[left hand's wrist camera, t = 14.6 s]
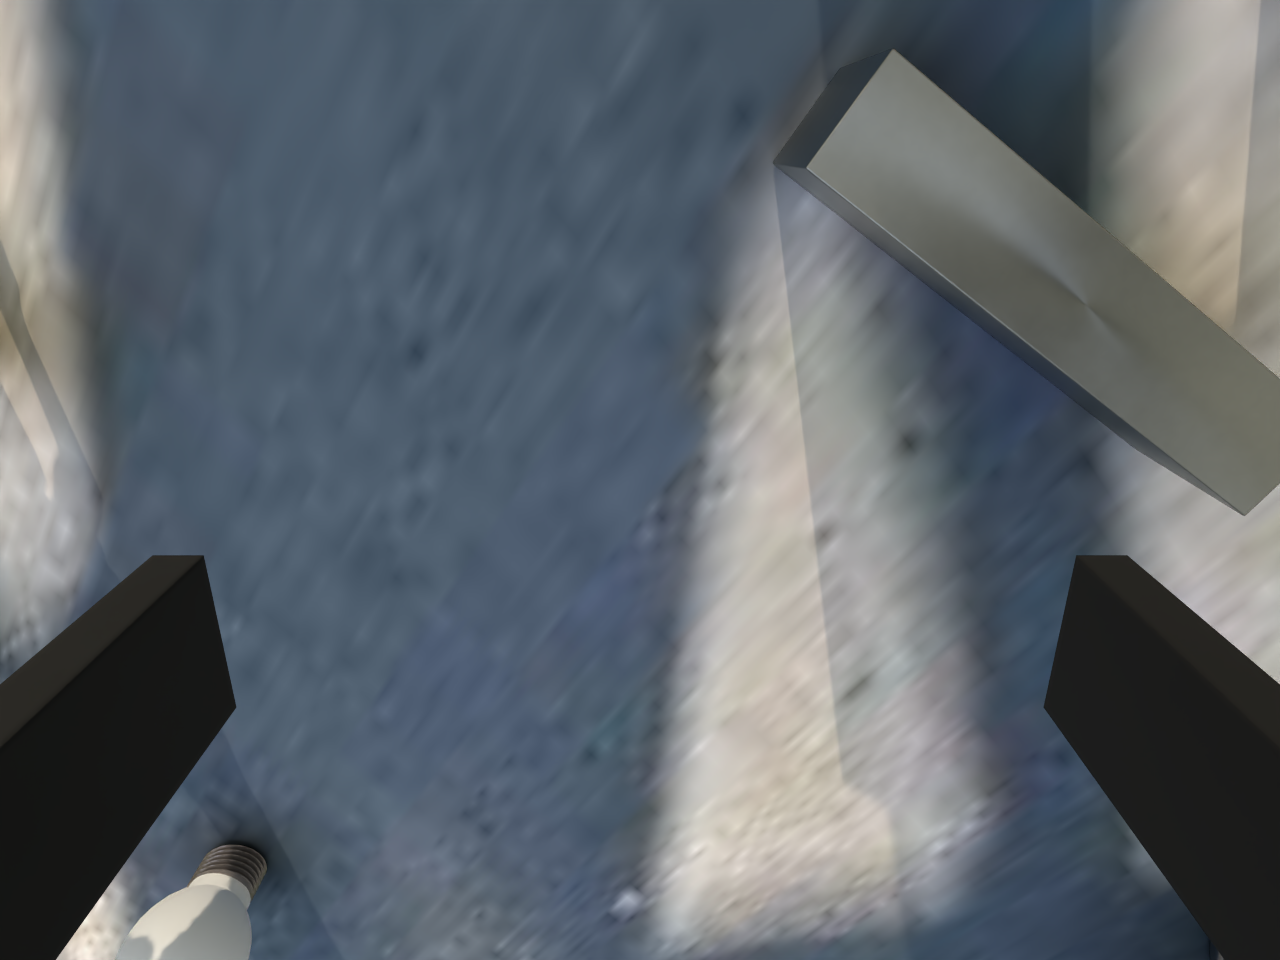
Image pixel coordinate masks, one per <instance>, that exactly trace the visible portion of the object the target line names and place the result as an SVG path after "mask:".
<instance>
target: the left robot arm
mask: <svg viewBox="0 0 1280 960" xmlns="http://www.w3.org/2000/svg"><path fill="white" fill-rule="evenodd" d="M235 708H236V704H235V699H234V694H233V690H232V685H231V680H230V676H229V671H228V666H227V662H226V657H225V652H224V648H223V643H222V639H221V634H220V629H219V625H218V620H217V615H216V611H215V606H214V601H213V597H212V592H211V587H210V583H209V578H208V573H207V569H206V564H205V560H204V555H153V556H152V557H150V558H149V559H148V560H147V561H146V562H144V563H143V564H142V565H141V566H140V567H139V568H137V569H136V570H135V571H134V572H133V573H131V574H130V575H129V576H128V577H127V578H126V579H124V580H123V581H122V582H121V583H120V584H118V585H117V586H116V587H115V588H114V589H113V590H111V591H110V592H109V593H108V594H107V595H105V596H104V597H103V598H102V599H101V600H100V601H98V602H97V603H96V604H95V605H94V606H92V607H91V608H90V609H89V610H88V611H87V612H85V613H84V614H83V615H82V616H81V617H79V618H78V619H77V620H76V621H75V622H74V623H72V624H71V625H70V626H69V627H68V628H66V629H65V630H64V631H63V632H62V633H61V634H59V635H58V636H57V637H56V638H55V639H53V640H52V641H51V642H50V643H49V644H48V645H46V646H45V647H44V648H43V649H42V650H40V651H39V652H38V653H37V654H36V655H35V656H33V657H32V658H31V659H30V660H29V661H27V662H26V663H25V664H24V665H23V666H22V667H20V668H19V669H18V670H17V671H16V672H14V673H13V674H12V675H11V676H10V677H9V678H7V679H6V680H5V681H4V682H3V683H1V684H0V960H56V959H57V957H58V956H59V954H60V953H61V952H62V950H63V949H64V947H65V946H66V945H67V943H68V942H69V940H70V939H71V938H72V936H73V935H74V933H75V932H76V931H77V929H78V928H79V926H80V925H81V924H82V922H83V921H84V919H85V918H86V917H87V915H88V914H89V913H90V911H91V910H92V908H93V907H94V906H95V904H96V903H97V901H98V900H99V899H100V897H101V896H102V894H103V893H104V892H105V890H106V889H107V887H108V886H109V885H110V883H111V882H112V880H113V879H114V878H115V876H116V875H117V873H118V872H119V871H120V869H121V868H122V866H123V865H124V864H125V862H126V861H127V859H128V858H129V857H130V855H131V854H132V852H133V851H134V850H135V848H136V847H137V845H138V844H139V843H140V841H141V840H142V838H143V837H144V836H145V834H146V833H147V831H148V830H149V829H150V827H151V826H152V824H153V823H154V822H155V820H156V819H157V817H158V816H159V815H160V813H161V812H162V810H163V809H164V808H165V806H166V805H167V803H168V802H169V801H170V799H171V798H172V796H173V795H174V794H175V792H176V791H177V789H178V788H179V787H180V785H181V784H182V783H183V781H184V780H185V778H186V777H187V776H188V774H189V773H190V771H191V770H192V769H193V767H194V766H195V764H196V763H197V762H198V760H199V759H200V757H201V756H202V755H203V753H204V752H205V750H206V749H207V748H208V746H209V745H210V743H211V742H212V741H213V739H214V738H215V736H216V735H217V734H218V732H219V731H220V729H221V728H222V727H223V725H224V724H225V722H226V721H227V720H228V718H229V717H230V715H231V714H232V713H233V711H234V710H235ZM1044 708H1045V710H1046V711H1047V713H1048V714H1049V715H1050V717H1051V718H1052V720H1053V721H1054V722H1055V724H1056V725H1057V727H1058V728H1059V729H1060V731H1061V732H1062V734H1063V735H1064V736H1065V738H1066V739H1067V741H1068V742H1069V743H1070V745H1071V746H1072V748H1073V749H1074V750H1075V752H1076V753H1077V755H1078V756H1079V757H1080V759H1081V760H1082V762H1083V763H1084V764H1085V766H1086V767H1087V769H1088V770H1089V771H1090V773H1091V774H1092V776H1093V777H1094V778H1095V780H1096V781H1097V783H1098V784H1099V785H1100V787H1101V788H1102V789H1103V791H1104V792H1105V794H1106V795H1107V796H1108V798H1109V799H1110V801H1111V802H1112V803H1113V805H1114V806H1115V808H1116V809H1117V810H1118V812H1119V813H1120V815H1121V816H1122V817H1123V819H1124V820H1125V822H1126V823H1127V824H1128V826H1129V827H1130V829H1131V830H1132V831H1133V833H1134V834H1135V836H1136V837H1137V838H1138V840H1139V841H1140V843H1141V844H1142V845H1143V847H1144V848H1145V850H1146V851H1147V852H1148V854H1149V855H1150V857H1151V858H1152V859H1153V861H1154V862H1155V864H1156V865H1157V866H1158V868H1159V869H1160V871H1161V872H1162V873H1163V875H1164V876H1165V878H1166V879H1167V880H1168V882H1169V883H1170V885H1171V886H1172V887H1173V889H1174V890H1175V892H1176V893H1177V894H1178V896H1179V897H1180V899H1181V900H1182V901H1183V903H1184V904H1185V906H1186V907H1187V908H1188V910H1189V911H1190V913H1191V914H1192V915H1193V917H1194V918H1195V919H1196V921H1197V922H1198V924H1199V925H1200V926H1201V928H1202V929H1203V931H1204V932H1205V933H1206V935H1207V936H1208V938H1209V939H1210V940H1211V942H1212V943H1213V945H1214V946H1215V947H1216V949H1217V950H1218V952H1219V953H1220V954H1221V956H1222V957H1223V959H1224V960H1280V684H1279V683H1277V682H1276V681H1275V680H1274V679H1273V678H1271V677H1270V676H1269V675H1268V674H1267V673H1266V672H1264V671H1263V670H1262V669H1261V668H1260V667H1258V666H1257V665H1256V664H1255V663H1254V662H1253V661H1251V660H1250V659H1249V658H1248V657H1247V656H1245V655H1244V654H1243V653H1242V652H1241V651H1240V650H1238V649H1237V648H1236V647H1235V646H1234V645H1232V644H1231V643H1230V642H1229V641H1228V640H1227V639H1225V638H1224V637H1223V636H1222V635H1221V634H1219V633H1218V632H1217V631H1216V630H1215V629H1214V628H1212V627H1211V626H1210V625H1209V624H1208V623H1206V622H1205V621H1204V620H1203V619H1202V618H1201V617H1199V616H1198V615H1197V614H1196V613H1195V612H1193V611H1192V610H1191V609H1190V608H1189V607H1188V606H1186V605H1185V604H1184V603H1183V602H1182V601H1180V600H1179V599H1178V598H1177V597H1176V596H1175V595H1173V594H1172V593H1171V592H1170V591H1169V590H1167V589H1166V588H1165V587H1164V586H1163V585H1162V584H1160V583H1159V582H1158V581H1157V580H1156V579H1154V578H1153V577H1152V576H1151V575H1150V574H1149V573H1147V572H1146V571H1145V570H1144V569H1143V568H1141V567H1140V566H1139V565H1138V564H1137V563H1136V562H1134V561H1133V560H1132V559H1131V558H1130V557H1128V556H1127V555H1076V560H1075V564H1074V569H1073V573H1072V578H1071V583H1070V587H1069V592H1068V597H1067V601H1066V606H1065V611H1064V615H1063V620H1062V625H1061V629H1060V634H1059V639H1058V643H1057V648H1056V652H1055V657H1054V662H1053V666H1052V671H1051V676H1050V680H1049V685H1048V690H1047V694H1046V699H1045V704H1044Z"/></svg>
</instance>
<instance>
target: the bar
mask: <svg viewBox="0 0 1280 960" xmlns="http://www.w3.org/2000/svg"><path fill="white" fill-rule="evenodd" d="M773 164H774V165H775V166H776V167H777V168H779V169H780V170H781V171H782V172H784V173H785V174H786V175H788V176H789V177H790V178H791V179H793V180H794V181H795V182H796V183H798V184H799V185H800V186H802V187H803V188H804V189H805V190H807V191H808V192H809V193H810V194H812V195H813V196H814V197H816V198H817V199H818V200H819V201H821V202H822V203H823V204H824V205H826V206H827V207H828V208H830V209H831V210H832V211H833V212H835V213H836V214H837V215H838V216H840V217H841V218H842V219H844V220H845V221H846V222H847V223H849V224H850V225H851V226H852V227H854V228H855V229H856V230H858V231H859V232H860V233H861V234H863V235H864V236H865V237H866V238H868V239H869V240H870V241H872V242H873V243H874V244H875V245H877V246H878V247H879V248H880V249H882V250H883V251H884V252H886V253H887V254H888V255H889V256H891V257H892V258H893V259H894V260H896V261H897V262H898V263H900V264H901V265H902V266H903V267H905V268H906V269H907V270H908V271H910V272H911V273H912V274H914V275H915V276H916V277H917V278H919V279H920V280H921V281H922V282H924V283H925V284H926V285H928V286H929V287H930V288H931V289H933V290H934V291H935V292H936V293H938V294H939V295H940V296H942V297H943V298H944V299H945V300H947V301H948V302H949V303H950V304H952V305H953V306H954V307H956V308H957V309H958V310H959V311H961V312H962V313H963V314H964V315H966V316H967V317H968V318H970V319H971V320H972V321H973V322H975V323H976V324H977V325H978V326H980V327H981V328H982V329H984V330H985V331H986V332H987V333H989V334H990V335H991V336H992V337H994V338H995V339H996V340H998V341H999V342H1000V343H1001V344H1003V345H1004V346H1005V347H1006V348H1008V349H1009V350H1010V351H1012V352H1013V353H1014V354H1015V355H1017V356H1018V357H1019V358H1020V359H1022V360H1023V361H1024V362H1026V363H1027V364H1028V365H1029V366H1031V367H1032V368H1033V369H1034V370H1036V371H1037V372H1038V373H1040V374H1041V375H1042V376H1043V377H1045V378H1046V379H1047V380H1048V381H1050V382H1051V383H1052V384H1054V385H1055V386H1056V387H1057V388H1059V389H1060V390H1061V391H1062V392H1064V393H1065V394H1066V395H1068V396H1069V397H1070V398H1071V399H1073V400H1074V401H1075V402H1076V403H1078V404H1079V405H1080V406H1082V407H1083V408H1084V409H1085V410H1087V411H1088V412H1089V413H1090V414H1092V415H1093V416H1094V417H1096V418H1097V419H1098V420H1099V421H1101V422H1102V423H1103V424H1104V425H1106V426H1107V427H1108V428H1110V429H1111V430H1112V431H1113V432H1115V433H1116V434H1117V435H1118V436H1120V437H1121V438H1122V439H1124V440H1125V441H1126V442H1127V443H1129V444H1130V445H1131V446H1132V447H1134V448H1135V449H1136V450H1138V451H1139V452H1141V453H1143V454H1144V455H1146V456H1147V457H1149V458H1151V459H1152V460H1154V461H1156V462H1157V463H1159V464H1160V465H1162V466H1164V467H1165V468H1167V469H1169V470H1170V471H1172V472H1173V473H1175V474H1177V475H1178V476H1180V477H1181V478H1183V479H1185V480H1186V481H1188V482H1190V483H1191V484H1193V485H1194V486H1196V487H1198V488H1199V489H1201V490H1203V491H1204V492H1206V493H1207V494H1209V495H1211V496H1212V497H1214V498H1215V499H1217V500H1219V501H1220V502H1222V503H1224V504H1225V505H1227V506H1228V507H1230V508H1232V509H1233V510H1235V511H1236V512H1238V513H1240V514H1241V515H1243V516H1245V515H1246V514H1247V513H1249V512H1250V511H1251V510H1252V509H1253V508H1254V507H1255V506H1256V505H1257V504H1258V503H1259V502H1260V501H1261V500H1262V499H1263V498H1265V497H1266V496H1267V495H1268V494H1269V493H1270V492H1271V491H1272V490H1273V489H1274V488H1275V487H1276V486H1277V485H1278V484H1279V483H1280V379H1279V378H1278V377H1277V376H1276V375H1275V374H1274V373H1272V372H1271V371H1270V370H1269V369H1268V368H1267V367H1265V366H1264V365H1263V364H1262V363H1261V362H1260V361H1258V360H1257V359H1256V358H1255V357H1254V356H1253V355H1251V354H1250V353H1249V352H1248V351H1247V350H1246V349H1244V348H1243V347H1242V346H1241V345H1240V344H1239V343H1237V342H1236V341H1235V340H1234V339H1233V338H1232V337H1230V336H1229V335H1228V334H1227V333H1226V332H1225V331H1223V330H1222V329H1221V328H1220V327H1219V326H1218V325H1216V324H1215V323H1214V322H1213V321H1212V320H1211V319H1209V318H1208V317H1207V316H1206V315H1205V314H1204V313H1202V312H1201V311H1200V310H1199V309H1198V308H1197V307H1195V306H1194V305H1193V304H1192V303H1191V302H1190V301H1188V300H1187V299H1186V298H1185V297H1184V296H1183V295H1181V294H1180V293H1179V292H1178V291H1177V290H1176V289H1174V288H1173V287H1172V286H1171V285H1170V284H1169V283H1167V282H1166V281H1165V280H1164V279H1163V278H1162V277H1160V276H1159V275H1158V274H1157V273H1156V272H1155V271H1153V270H1152V269H1151V268H1150V267H1149V266H1148V265H1146V264H1145V263H1144V262H1143V261H1142V260H1141V259H1139V258H1138V257H1137V256H1136V255H1135V254H1134V253H1132V252H1131V251H1130V250H1129V249H1128V248H1127V247H1125V246H1124V245H1123V244H1122V243H1121V242H1120V241H1118V240H1117V239H1116V238H1115V237H1114V236H1112V235H1111V234H1110V233H1109V232H1108V231H1107V230H1105V229H1104V228H1103V227H1102V226H1101V225H1100V224H1098V223H1097V222H1096V221H1095V220H1094V219H1093V218H1091V217H1090V216H1089V215H1088V214H1087V213H1086V212H1084V211H1083V210H1082V209H1081V208H1080V207H1079V206H1077V205H1076V204H1075V203H1074V202H1073V201H1072V200H1070V199H1069V198H1068V197H1067V196H1066V195H1065V194H1063V193H1062V192H1061V191H1060V190H1059V189H1058V188H1056V187H1055V186H1054V185H1053V184H1052V183H1051V182H1049V181H1048V180H1047V179H1046V178H1045V177H1044V176H1042V175H1041V174H1040V173H1039V172H1038V171H1037V170H1035V169H1034V168H1033V167H1032V166H1031V165H1030V164H1028V163H1027V162H1026V161H1025V160H1024V159H1023V158H1021V157H1020V156H1019V155H1018V154H1017V153H1016V152H1014V151H1013V150H1012V149H1011V148H1010V147H1009V146H1007V145H1006V144H1005V143H1004V142H1003V141H1002V140H1000V139H999V138H998V137H997V136H996V135H995V134H993V133H992V132H991V131H990V130H989V129H988V128H986V127H985V126H984V125H983V124H982V123H981V122H979V121H978V120H977V119H976V118H975V117H974V116H972V115H971V114H970V113H969V112H968V111H967V110H965V109H964V108H963V107H962V106H961V105H960V104H958V103H957V102H956V101H955V100H954V99H953V98H951V97H950V96H949V95H948V94H947V93H946V92H944V91H943V90H942V89H941V88H940V87H939V86H937V85H936V84H935V83H934V82H933V81H932V80H930V79H929V78H928V77H927V76H926V75H925V74H923V73H922V72H921V71H920V70H919V69H918V68H916V67H915V66H914V65H913V64H912V63H911V62H909V61H908V60H907V59H906V58H905V57H904V56H902V55H901V54H900V53H899V52H898V51H897V50H895V49H890V50H887V51H885V52H882V53H879V54H877V55H874V56H872V57H869V58H866V59H864V60H861V61H858V62H856V63H853V64H850V65H848V66H845V67H842V68H840V69H839V70H838V72H837V73H836V75H835V76H834V77H833V79H832V80H831V82H830V83H829V84H828V86H827V87H826V89H825V90H824V91H823V93H822V94H821V96H820V97H819V98H818V100H817V101H816V103H815V104H814V105H813V107H812V108H811V110H810V111H809V112H808V114H807V115H806V117H805V118H804V119H803V121H802V122H801V124H800V125H799V126H798V128H797V129H796V131H795V132H794V133H793V135H792V136H791V138H790V139H789V140H788V142H787V143H786V145H785V146H784V147H783V149H782V150H781V152H780V153H779V154H778V156H777V157H776V159H775V160H774V161H773Z"/></svg>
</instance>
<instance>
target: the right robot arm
mask: <svg viewBox="0 0 1280 960" xmlns="http://www.w3.org/2000/svg"><path fill="white" fill-rule="evenodd" d="M1210 960H1224V959H1223V957H1222V956H1221V954H1220V953H1219V952H1218V950H1217V949H1216V947H1215V946H1214V945H1213V943H1212V942H1211V941H1210Z"/></svg>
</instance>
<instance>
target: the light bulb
mask: <svg viewBox="0 0 1280 960" xmlns="http://www.w3.org/2000/svg"><path fill="white" fill-rule="evenodd" d="M266 871H267V865H266V862H265V860H264V858H263V857H262V856H261V855H260V854H259V853H258V852H256V851H255V850H253V849H251V848H248V847H245V846H241V845H225V846H220V847H218V848H215V849H213V850H211V851H210V852H209V853H208V854H207V855H206V856H205V857H204V859H203V861H202V862H201V864H200V866H199V867H198V869H197V870H196V872H195V874H194V875H193V877H192V879H191V880H190V882H189V883H188V885H187V888H184V889H182V890H180V891H177V892H175V893H173V894H171V895H169V896H167V897H166V898H164V899H163V900H161V901H160V902H159V903H157V904H156V905H155V906H153V907H152V908H151V909H150V910H149V911H148V912H147V913H146V914H145V915H143V916H142V917H141V919H140V920H139V921H138V922H137V923H136V925H135V926H134V927H133V929H132V930H131V931H130V933H129V934H128V935H127V937H126V938H125V940H124V942H123V944H122V946H121V947H120V949H119V951H118V953H117V956H116V958H115V960H248V958H249V953H250V948H251V923H250V919H249V915H248V912H247V909H248V907H249V905H250V903H251V901H252V899H253V897H254V895H255V894H256V891H257V890H258V887H259V885H260V884H261V881H262V880H263V877H264V876H265V874H266Z"/></svg>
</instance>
